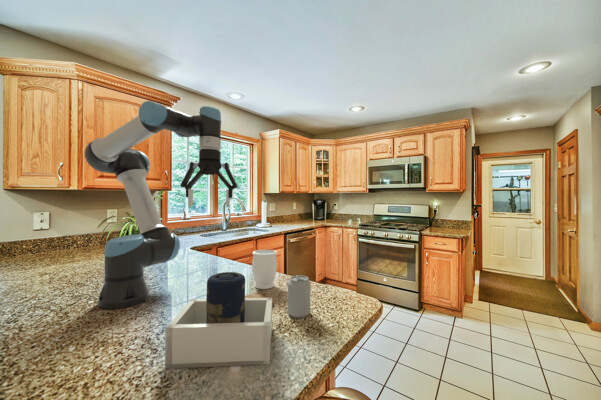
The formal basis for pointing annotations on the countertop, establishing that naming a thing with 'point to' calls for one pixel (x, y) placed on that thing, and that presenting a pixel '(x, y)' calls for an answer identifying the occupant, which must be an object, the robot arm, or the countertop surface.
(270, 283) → the jar
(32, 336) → the countertop surface
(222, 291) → the canister
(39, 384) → the countertop surface
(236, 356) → the open box
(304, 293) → the can
